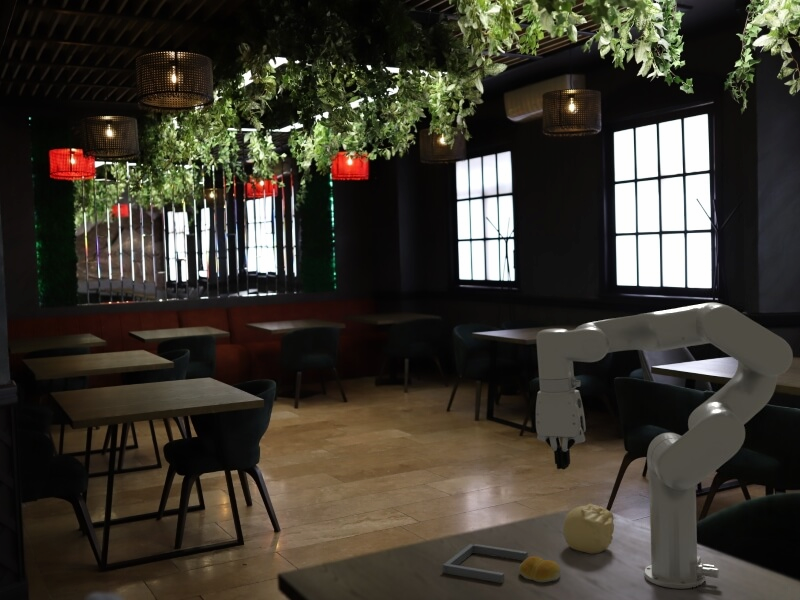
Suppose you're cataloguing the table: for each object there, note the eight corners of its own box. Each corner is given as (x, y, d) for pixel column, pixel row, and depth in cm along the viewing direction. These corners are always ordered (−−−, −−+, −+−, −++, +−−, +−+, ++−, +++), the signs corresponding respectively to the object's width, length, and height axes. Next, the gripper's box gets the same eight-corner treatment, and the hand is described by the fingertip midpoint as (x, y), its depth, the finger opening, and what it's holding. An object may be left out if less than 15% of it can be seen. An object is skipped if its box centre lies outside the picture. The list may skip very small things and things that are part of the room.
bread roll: (550, 586, 179) (549, 568, 179) (514, 577, 185) (513, 560, 185) (568, 574, 186) (567, 556, 185) (532, 565, 191) (532, 549, 191)
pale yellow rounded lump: (606, 560, 192) (604, 515, 191) (556, 552, 198) (555, 508, 198) (620, 545, 202) (619, 501, 201) (573, 537, 208) (572, 495, 207)
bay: (527, 559, 195) (527, 551, 195) (502, 583, 182) (502, 575, 181) (471, 550, 202) (471, 543, 202) (442, 572, 189) (442, 565, 189)
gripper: (595, 382, 181) (601, 465, 182) (531, 382, 189) (537, 461, 189) (584, 388, 174) (590, 474, 175) (518, 387, 182) (524, 469, 183)
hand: (562, 467), depth 182 cm, fingers closed
